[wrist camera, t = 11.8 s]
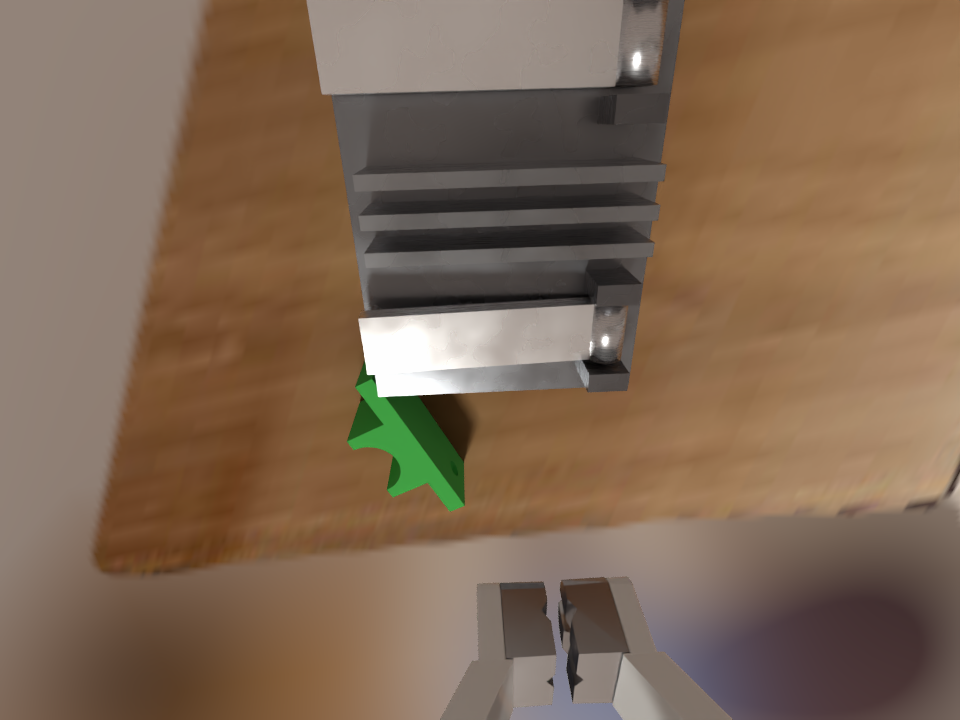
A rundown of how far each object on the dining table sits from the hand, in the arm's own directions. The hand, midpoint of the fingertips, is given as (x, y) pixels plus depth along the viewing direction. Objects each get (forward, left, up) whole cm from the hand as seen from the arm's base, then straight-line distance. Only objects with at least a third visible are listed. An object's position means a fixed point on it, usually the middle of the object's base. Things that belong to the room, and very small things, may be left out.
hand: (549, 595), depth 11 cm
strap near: (0, -12, -15) cm, 19 cm away
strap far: (0, 0, -15) cm, 15 cm away
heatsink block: (0, -6, -20) cm, 21 cm away
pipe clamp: (+6, +9, -21) cm, 23 cm away
